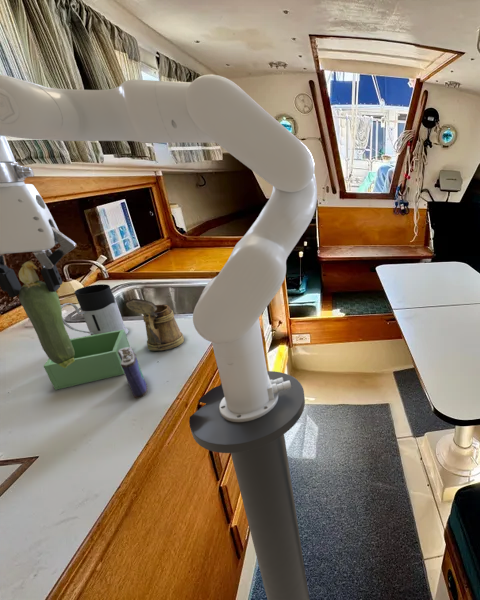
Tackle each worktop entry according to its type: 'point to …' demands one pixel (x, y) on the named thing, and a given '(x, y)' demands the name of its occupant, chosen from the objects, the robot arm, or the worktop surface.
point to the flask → (133, 372)
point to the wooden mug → (158, 324)
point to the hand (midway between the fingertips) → (35, 290)
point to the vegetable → (45, 316)
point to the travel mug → (98, 310)
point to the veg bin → (90, 360)
